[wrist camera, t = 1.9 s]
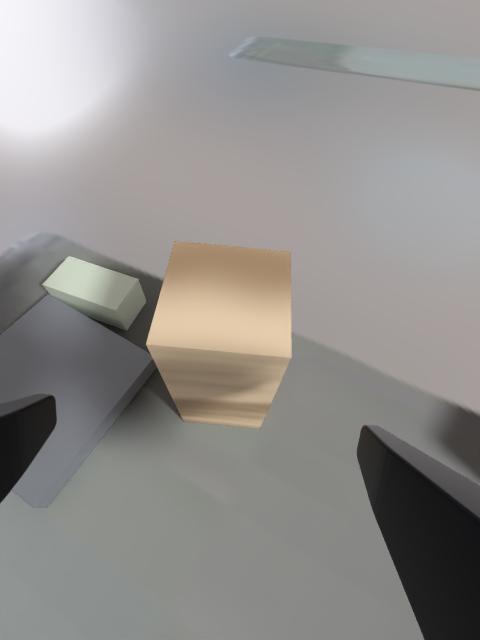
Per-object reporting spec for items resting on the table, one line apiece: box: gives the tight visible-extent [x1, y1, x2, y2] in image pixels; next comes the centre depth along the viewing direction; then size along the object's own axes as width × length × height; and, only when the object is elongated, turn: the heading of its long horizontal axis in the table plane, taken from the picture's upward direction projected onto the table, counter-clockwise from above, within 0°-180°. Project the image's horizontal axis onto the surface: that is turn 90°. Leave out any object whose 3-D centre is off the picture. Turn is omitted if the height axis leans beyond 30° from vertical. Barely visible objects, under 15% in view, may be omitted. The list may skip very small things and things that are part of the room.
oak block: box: [146, 241, 291, 429], centre depth 16 cm, size 5×5×11 cm
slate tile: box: [0, 294, 157, 508], centre depth 20 cm, size 10×10×2 cm
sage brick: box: [42, 256, 146, 331], centre depth 23 cm, size 6×3×3 cm, turn 70°
